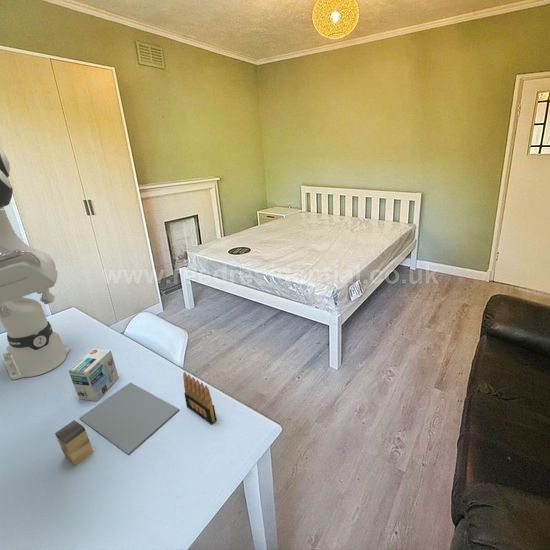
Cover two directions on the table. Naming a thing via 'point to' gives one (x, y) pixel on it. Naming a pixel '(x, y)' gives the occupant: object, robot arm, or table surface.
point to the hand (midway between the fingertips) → (29, 307)
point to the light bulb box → (94, 374)
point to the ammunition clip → (199, 399)
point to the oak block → (74, 442)
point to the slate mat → (129, 417)
